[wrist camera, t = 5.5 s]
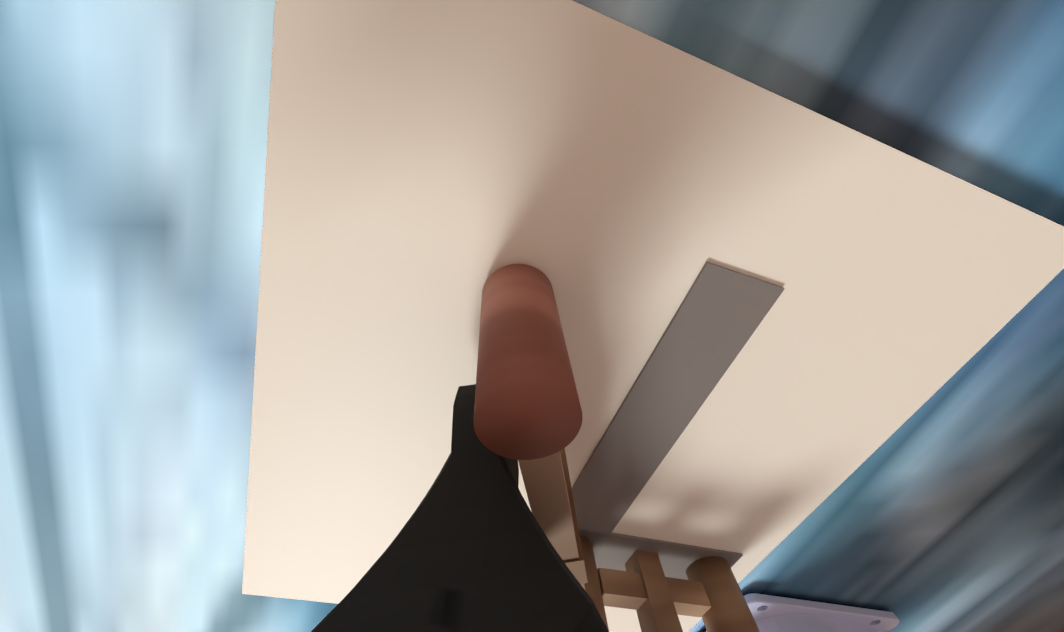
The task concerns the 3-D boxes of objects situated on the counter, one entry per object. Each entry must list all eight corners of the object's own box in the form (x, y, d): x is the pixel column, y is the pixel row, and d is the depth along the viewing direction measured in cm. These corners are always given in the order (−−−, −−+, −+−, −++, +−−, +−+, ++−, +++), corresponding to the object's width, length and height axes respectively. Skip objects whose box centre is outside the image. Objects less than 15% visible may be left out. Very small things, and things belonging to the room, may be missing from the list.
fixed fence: (735, 557, 18) (805, 703, 14) (713, 580, 19) (772, 725, 15) (556, 528, 16) (575, 687, 12) (539, 555, 17) (552, 713, 13)
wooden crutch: (589, 526, 16) (618, 671, 12) (541, 534, 16) (554, 680, 12) (548, 257, 10) (576, 369, 7) (474, 270, 10) (461, 390, 7)
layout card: (1066, 232, 12) (1097, 241, 11) (676, 625, 22) (681, 641, 22) (297, -120, 7) (279, -136, 7) (249, 577, 18) (240, 596, 17)
